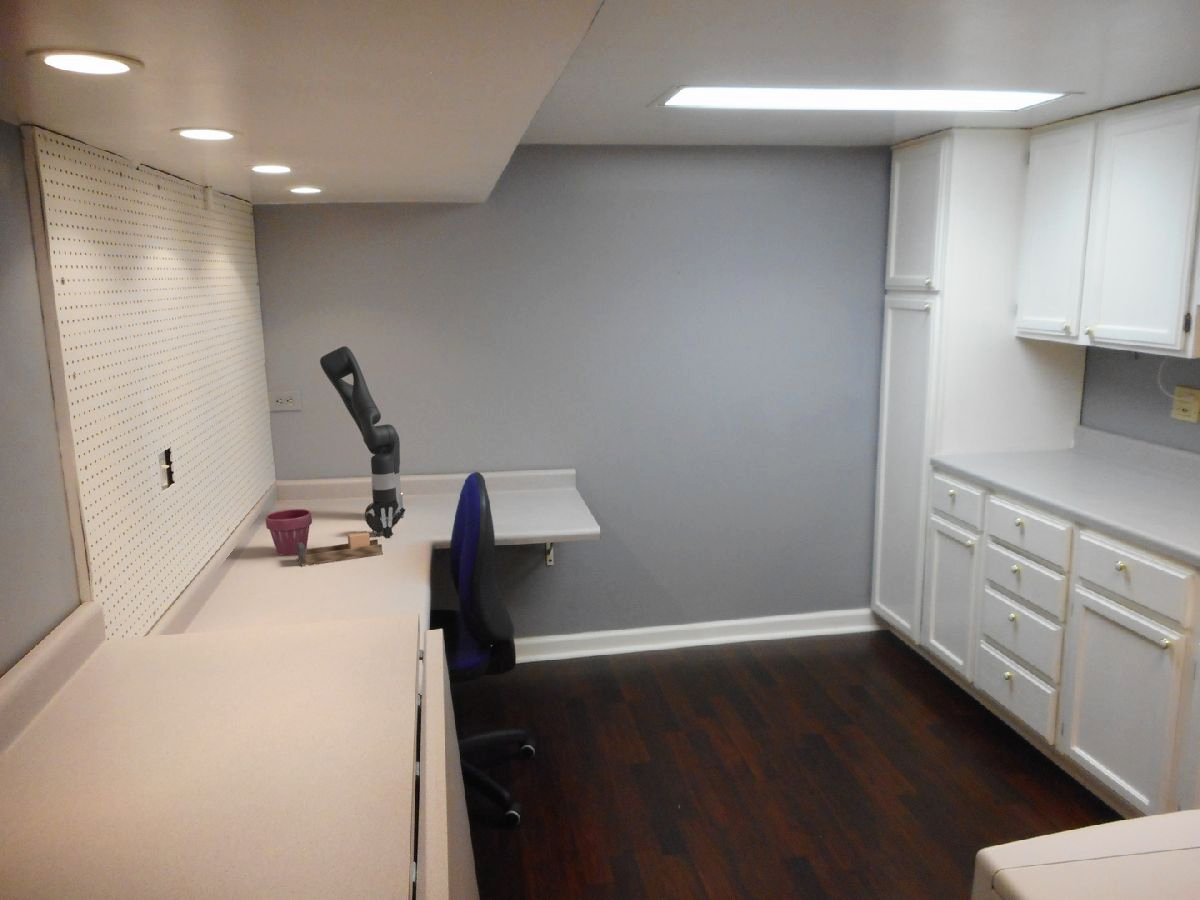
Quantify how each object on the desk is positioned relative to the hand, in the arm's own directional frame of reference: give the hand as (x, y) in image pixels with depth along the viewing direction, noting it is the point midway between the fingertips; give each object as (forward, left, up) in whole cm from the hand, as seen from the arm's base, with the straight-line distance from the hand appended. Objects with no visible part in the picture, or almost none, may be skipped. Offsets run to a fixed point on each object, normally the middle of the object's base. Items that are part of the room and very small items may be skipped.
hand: (387, 537), depth 281 cm
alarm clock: (-2, -20, -4) cm, 21 cm away
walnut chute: (+15, 0, -4) cm, 16 cm away
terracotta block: (+9, 0, -4) cm, 10 cm away
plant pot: (+29, -14, -4) cm, 32 cm away
